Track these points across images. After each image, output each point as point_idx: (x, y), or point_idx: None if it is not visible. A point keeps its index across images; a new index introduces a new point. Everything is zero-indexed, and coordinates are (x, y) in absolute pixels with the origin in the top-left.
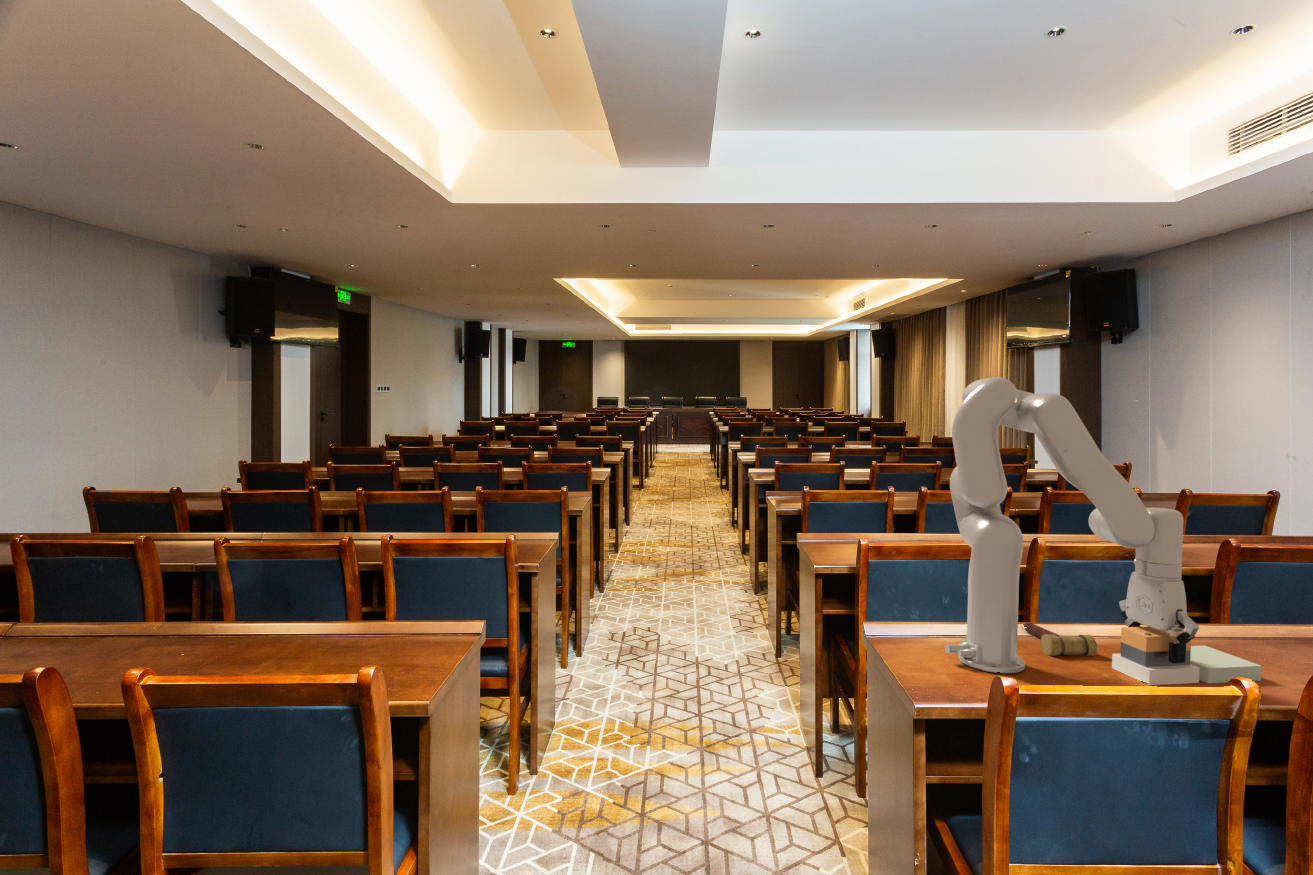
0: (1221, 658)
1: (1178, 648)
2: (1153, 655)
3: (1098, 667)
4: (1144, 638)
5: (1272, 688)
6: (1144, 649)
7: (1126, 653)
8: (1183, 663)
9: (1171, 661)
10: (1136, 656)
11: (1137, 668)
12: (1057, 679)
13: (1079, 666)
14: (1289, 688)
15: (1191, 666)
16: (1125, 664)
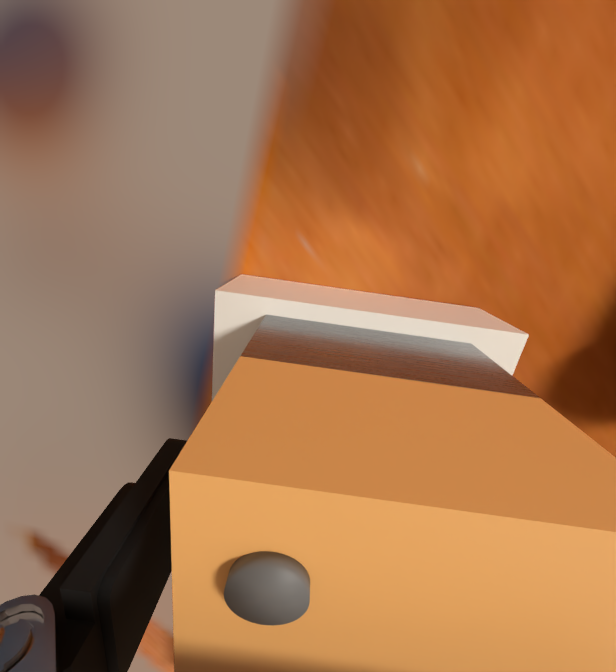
0: None
1: (65, 561)
2: None
3: (520, 241)
4: (220, 443)
5: (155, 627)
6: (252, 365)
7: (435, 351)
8: None
9: (166, 444)
10: (343, 341)
11: (312, 297)
12: None
13: (593, 126)
14: (151, 657)
15: None
16: (404, 309)
